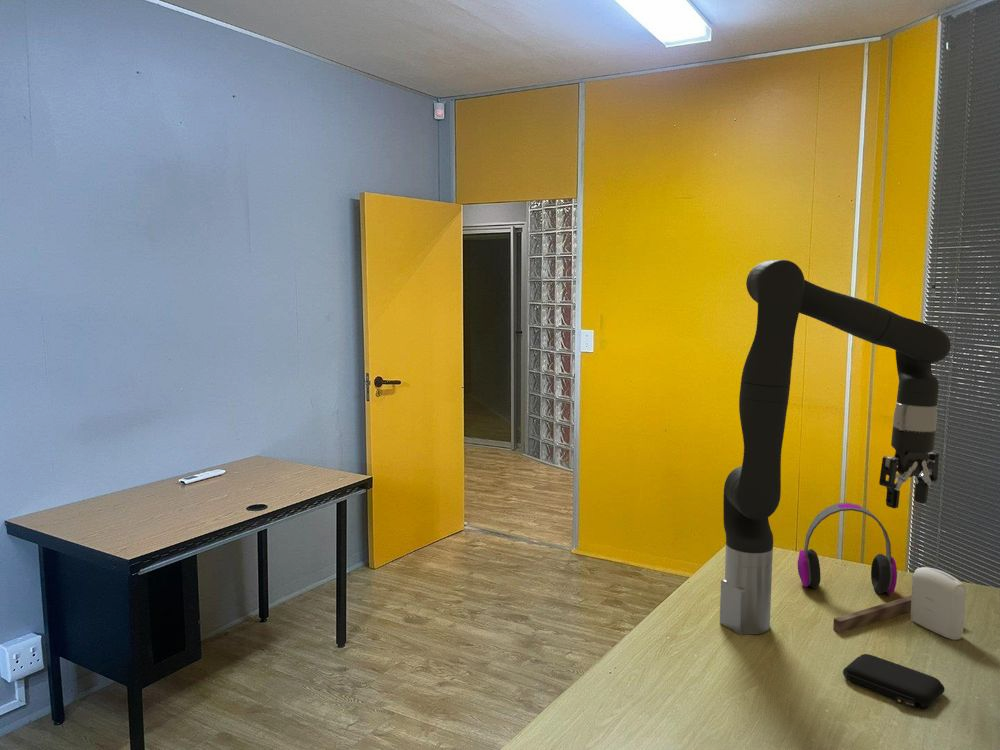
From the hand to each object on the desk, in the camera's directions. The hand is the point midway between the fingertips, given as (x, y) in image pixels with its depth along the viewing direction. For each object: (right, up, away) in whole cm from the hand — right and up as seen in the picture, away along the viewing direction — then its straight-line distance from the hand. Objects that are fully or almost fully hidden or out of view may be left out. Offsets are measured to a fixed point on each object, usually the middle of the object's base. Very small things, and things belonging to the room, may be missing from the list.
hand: (906, 504), depth 150 cm
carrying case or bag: (-13, -30, -19) cm, 37 cm away
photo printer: (+7, -26, +2) cm, 27 cm away
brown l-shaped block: (0, -26, +3) cm, 26 cm away
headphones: (-2, -24, +22) cm, 32 cm away
